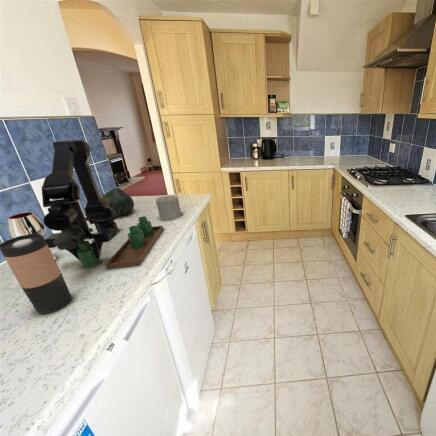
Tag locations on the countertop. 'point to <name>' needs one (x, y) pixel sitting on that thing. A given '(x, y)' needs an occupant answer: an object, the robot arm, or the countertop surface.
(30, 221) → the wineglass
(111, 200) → the squash
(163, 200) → the coffee mug
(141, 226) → the bottle near
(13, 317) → the countertop surface
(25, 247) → the travel mug
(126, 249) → the tray
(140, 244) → the bottle middle
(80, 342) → the countertop surface
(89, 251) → the green bottle
